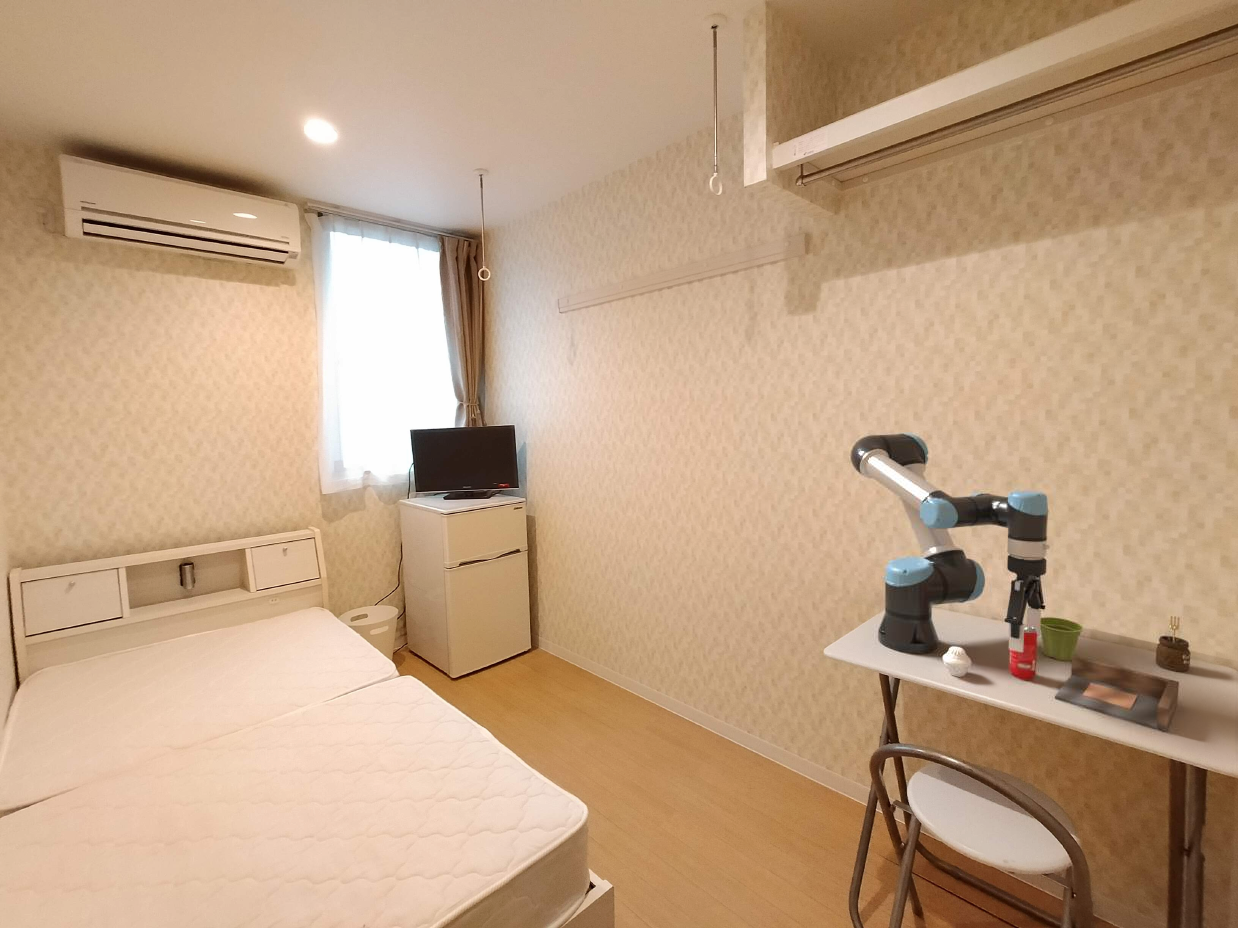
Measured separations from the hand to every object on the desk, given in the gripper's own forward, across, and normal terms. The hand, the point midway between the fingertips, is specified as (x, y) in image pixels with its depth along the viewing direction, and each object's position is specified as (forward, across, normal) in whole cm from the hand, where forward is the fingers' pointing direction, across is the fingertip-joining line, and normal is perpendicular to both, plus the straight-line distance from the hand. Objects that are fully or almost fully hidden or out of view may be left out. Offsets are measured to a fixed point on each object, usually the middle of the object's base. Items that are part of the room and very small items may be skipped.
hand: (1024, 642), depth 133 cm
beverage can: (+9, 0, 0) cm, 9 cm away
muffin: (+9, -10, +12) cm, 17 cm away
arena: (+9, +1, -16) cm, 19 cm away
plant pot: (+9, +19, -2) cm, 21 cm away
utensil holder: (+9, +31, -22) cm, 40 cm away
